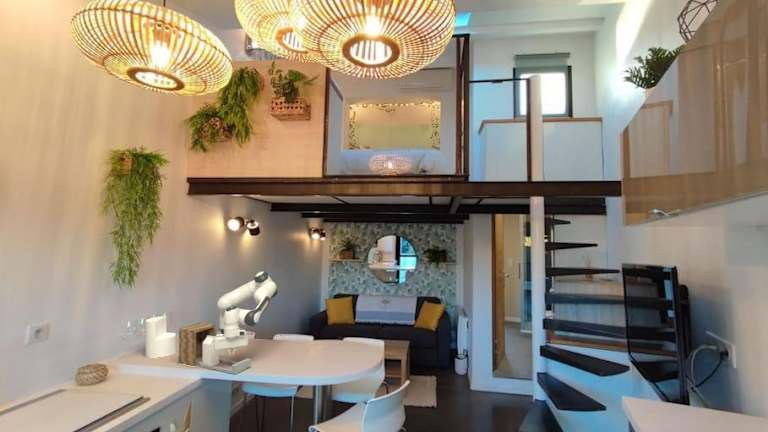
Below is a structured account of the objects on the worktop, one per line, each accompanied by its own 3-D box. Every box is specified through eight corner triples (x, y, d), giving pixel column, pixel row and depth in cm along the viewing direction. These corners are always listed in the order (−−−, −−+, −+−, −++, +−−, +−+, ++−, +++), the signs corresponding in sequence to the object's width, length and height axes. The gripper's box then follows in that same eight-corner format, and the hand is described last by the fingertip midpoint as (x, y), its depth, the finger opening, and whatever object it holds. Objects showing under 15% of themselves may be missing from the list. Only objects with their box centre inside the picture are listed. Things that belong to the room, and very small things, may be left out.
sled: (198, 366, 241) (198, 358, 241) (214, 360, 252) (214, 352, 252) (235, 374, 227) (235, 365, 227) (250, 367, 238) (250, 359, 239)
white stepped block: (139, 359, 258) (139, 322, 258) (154, 350, 276) (154, 316, 277) (168, 358, 259) (167, 321, 259) (180, 349, 278) (180, 315, 278)
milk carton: (210, 367, 239) (210, 338, 239) (202, 366, 242) (202, 336, 242) (219, 364, 245) (219, 335, 246) (211, 362, 248) (211, 333, 249)
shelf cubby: (179, 364, 246) (179, 328, 246) (200, 356, 261) (200, 322, 261) (194, 367, 240) (194, 330, 240) (215, 359, 255) (215, 324, 255)
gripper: (214, 336, 229) (213, 359, 229) (248, 331, 239) (248, 353, 239) (212, 334, 234) (212, 356, 234) (247, 329, 245) (247, 350, 244)
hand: (231, 354), depth 237 cm, fingers closed
